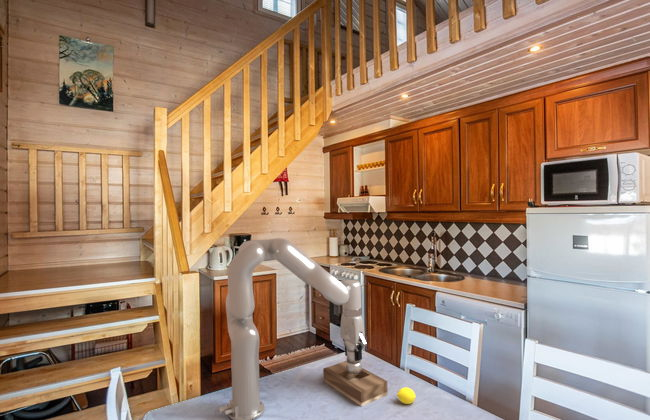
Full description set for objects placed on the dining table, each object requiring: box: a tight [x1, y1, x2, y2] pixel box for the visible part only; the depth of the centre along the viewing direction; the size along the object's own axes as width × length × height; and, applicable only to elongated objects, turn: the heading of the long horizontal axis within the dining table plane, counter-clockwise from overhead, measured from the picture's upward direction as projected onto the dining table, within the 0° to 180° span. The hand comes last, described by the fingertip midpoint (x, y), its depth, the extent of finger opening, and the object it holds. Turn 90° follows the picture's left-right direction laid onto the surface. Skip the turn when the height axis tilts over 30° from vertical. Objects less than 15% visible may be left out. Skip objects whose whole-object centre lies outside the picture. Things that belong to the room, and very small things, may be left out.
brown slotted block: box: [322, 360, 389, 407], centre depth 140 cm, size 13×24×5 cm, turn 35°
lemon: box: [396, 386, 417, 405], centre depth 128 cm, size 7×5×5 cm
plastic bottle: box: [345, 335, 363, 375], centre depth 140 cm, size 6×7×20 cm
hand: (353, 357), depth 140 cm, fingers closed on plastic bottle, 5 cm apart
